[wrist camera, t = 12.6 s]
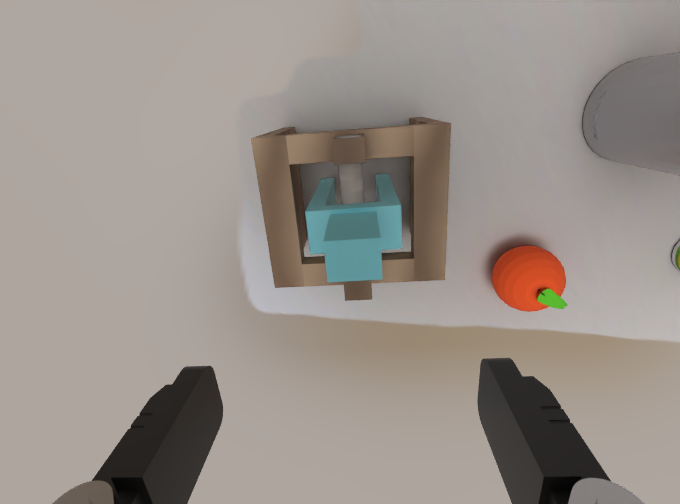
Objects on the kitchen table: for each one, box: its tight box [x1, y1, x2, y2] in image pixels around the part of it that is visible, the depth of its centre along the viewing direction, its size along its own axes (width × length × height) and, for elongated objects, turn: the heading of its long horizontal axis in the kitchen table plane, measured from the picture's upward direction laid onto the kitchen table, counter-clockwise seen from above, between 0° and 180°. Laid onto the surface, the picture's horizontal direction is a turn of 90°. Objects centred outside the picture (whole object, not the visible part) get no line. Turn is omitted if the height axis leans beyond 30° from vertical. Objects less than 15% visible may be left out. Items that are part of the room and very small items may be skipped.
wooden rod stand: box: [251, 117, 451, 301], centre depth 32 cm, size 14×12×15 cm
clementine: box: [492, 246, 567, 312], centre depth 38 cm, size 8×7×7 cm
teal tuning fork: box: [305, 174, 402, 282], centre depth 27 cm, size 6×3×16 cm, turn 95°
